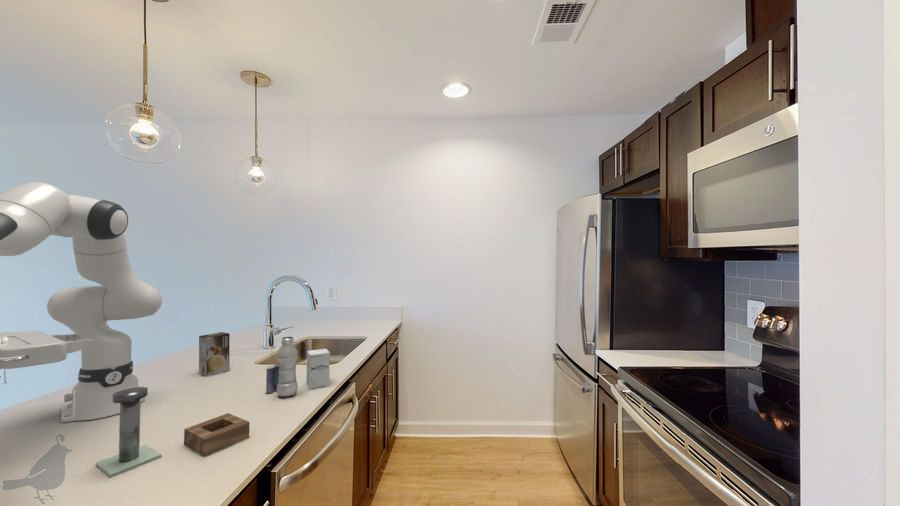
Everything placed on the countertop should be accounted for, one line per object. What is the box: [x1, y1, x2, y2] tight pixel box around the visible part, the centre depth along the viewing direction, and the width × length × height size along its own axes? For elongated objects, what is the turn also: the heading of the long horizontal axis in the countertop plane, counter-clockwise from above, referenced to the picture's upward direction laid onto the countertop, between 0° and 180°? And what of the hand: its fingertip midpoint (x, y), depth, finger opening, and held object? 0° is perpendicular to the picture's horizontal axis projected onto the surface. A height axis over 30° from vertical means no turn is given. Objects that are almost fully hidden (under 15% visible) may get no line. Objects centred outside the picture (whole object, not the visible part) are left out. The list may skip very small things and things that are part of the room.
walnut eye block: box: [183, 412, 251, 457], centre depth 89 cm, size 10×10×4 cm
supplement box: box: [306, 348, 331, 390], centre depth 130 cm, size 7×7×13 cm
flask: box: [265, 359, 279, 394], centre depth 125 cm, size 9×3×11 cm, turn 151°
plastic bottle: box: [276, 336, 299, 398], centre depth 119 cm, size 6×7×20 cm
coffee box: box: [198, 331, 230, 377], centre depth 144 cm, size 9×6×16 cm
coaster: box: [95, 443, 162, 478], centre depth 80 cm, size 9×9×1 cm
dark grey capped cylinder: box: [113, 386, 149, 463], centre depth 80 cm, size 6×6×15 cm
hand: (86, 340), depth 73 cm, fingers open, 8 cm apart
